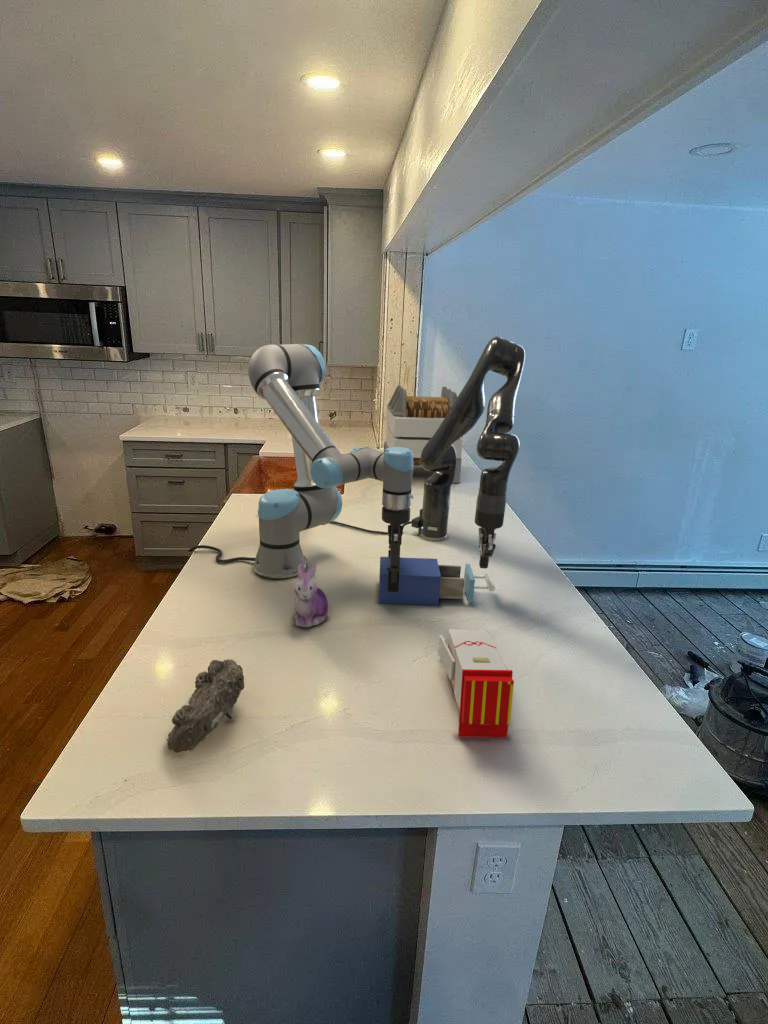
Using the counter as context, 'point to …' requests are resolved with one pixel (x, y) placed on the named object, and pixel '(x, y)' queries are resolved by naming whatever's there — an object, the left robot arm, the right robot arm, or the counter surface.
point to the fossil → (206, 705)
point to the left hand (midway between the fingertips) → (392, 581)
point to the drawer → (460, 582)
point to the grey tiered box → (418, 423)
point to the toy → (478, 682)
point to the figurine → (309, 599)
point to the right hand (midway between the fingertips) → (483, 567)
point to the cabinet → (411, 581)
